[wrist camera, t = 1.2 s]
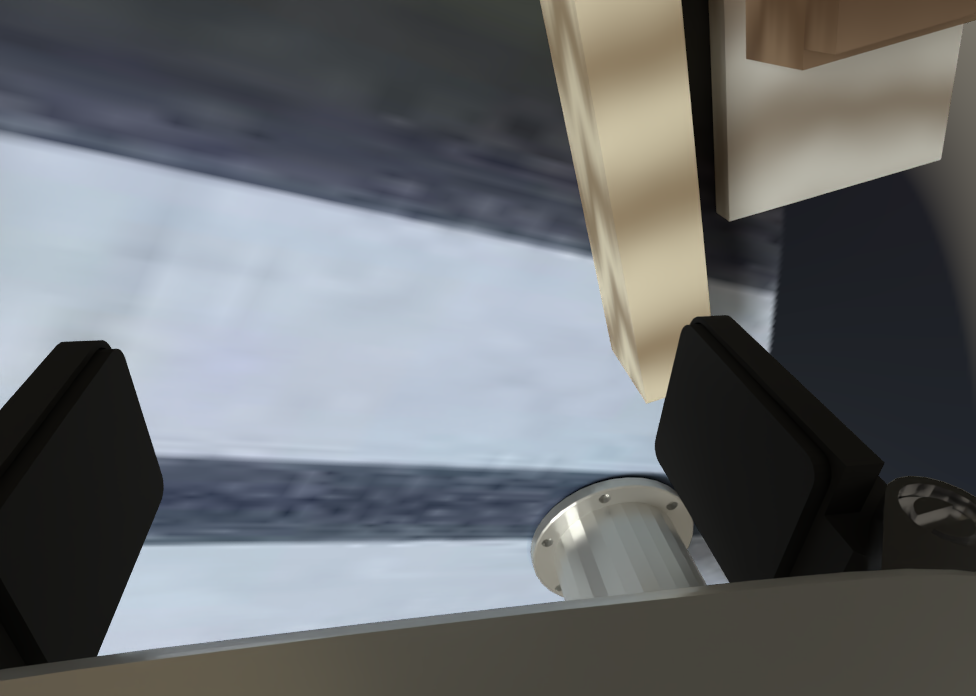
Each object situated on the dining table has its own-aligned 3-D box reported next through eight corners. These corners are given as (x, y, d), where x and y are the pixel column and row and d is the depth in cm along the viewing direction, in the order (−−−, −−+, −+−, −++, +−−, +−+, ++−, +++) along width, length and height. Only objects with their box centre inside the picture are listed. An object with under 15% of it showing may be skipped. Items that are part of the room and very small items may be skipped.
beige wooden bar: (671, 327, 38) (716, 380, 33) (610, 347, 38) (646, 403, 33) (614, -89, 26) (671, -105, 21) (526, -58, 26) (562, -68, 21)
